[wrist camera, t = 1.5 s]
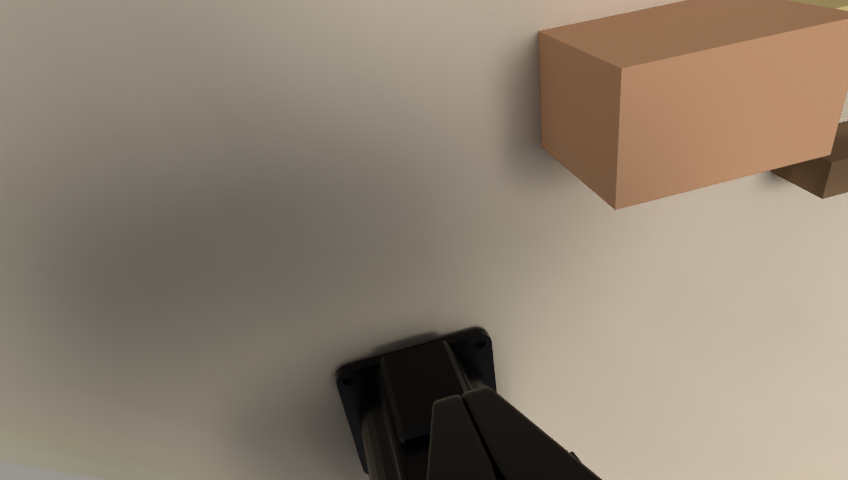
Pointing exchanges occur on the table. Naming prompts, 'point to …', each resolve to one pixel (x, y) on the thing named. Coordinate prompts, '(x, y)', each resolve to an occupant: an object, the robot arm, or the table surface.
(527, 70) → the table surface
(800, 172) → the rail
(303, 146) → the table surface
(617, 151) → the plug block
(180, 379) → the table surface
